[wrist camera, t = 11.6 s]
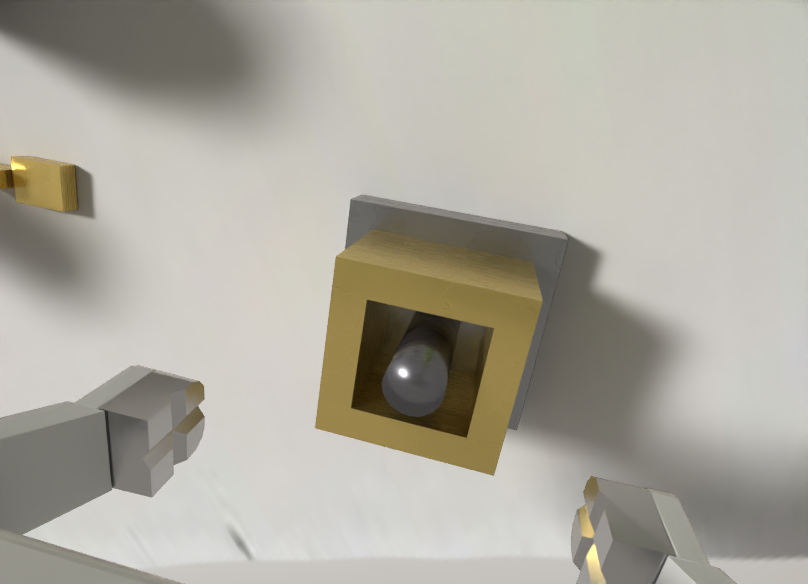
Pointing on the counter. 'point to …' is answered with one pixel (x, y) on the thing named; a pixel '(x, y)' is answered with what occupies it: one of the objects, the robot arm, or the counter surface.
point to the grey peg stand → (440, 336)
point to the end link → (439, 295)
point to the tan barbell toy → (41, 182)
